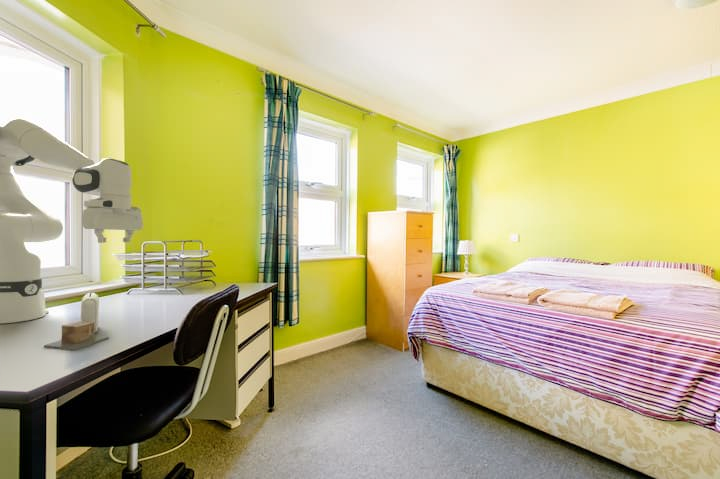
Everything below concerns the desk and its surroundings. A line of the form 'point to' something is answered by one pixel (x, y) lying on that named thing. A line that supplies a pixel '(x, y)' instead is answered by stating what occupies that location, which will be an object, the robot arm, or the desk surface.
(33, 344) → the desk surface
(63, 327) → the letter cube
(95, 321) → the white rounded upright block
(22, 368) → the desk surface
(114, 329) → the desk surface
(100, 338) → the slate pad
